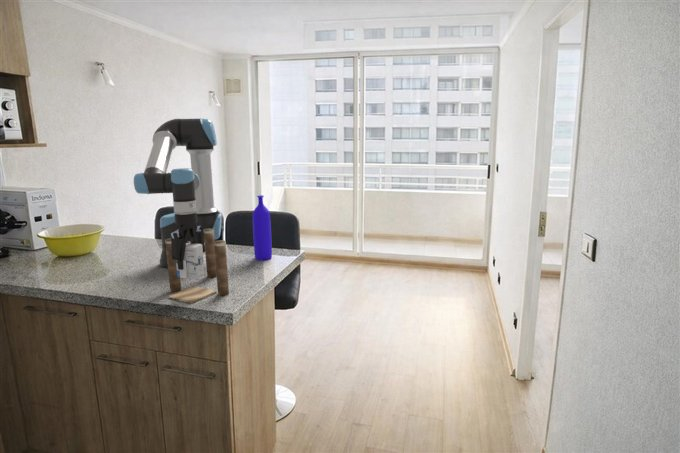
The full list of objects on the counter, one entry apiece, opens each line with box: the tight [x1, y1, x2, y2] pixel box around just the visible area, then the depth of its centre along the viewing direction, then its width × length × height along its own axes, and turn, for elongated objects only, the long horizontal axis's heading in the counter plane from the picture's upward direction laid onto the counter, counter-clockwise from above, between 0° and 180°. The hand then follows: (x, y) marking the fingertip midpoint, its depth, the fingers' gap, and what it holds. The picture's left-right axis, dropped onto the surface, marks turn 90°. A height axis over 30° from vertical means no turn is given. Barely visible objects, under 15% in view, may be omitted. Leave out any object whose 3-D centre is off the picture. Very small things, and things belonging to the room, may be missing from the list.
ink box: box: [176, 242, 205, 280], centre depth 160 cm, size 9×5×12 cm, turn 77°
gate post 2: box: [203, 228, 217, 279], centre depth 183 cm, size 4×4×20 cm
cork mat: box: [167, 285, 217, 304], centre depth 163 cm, size 12×12×1 cm
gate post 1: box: [165, 238, 182, 293], centre depth 167 cm, size 4×4×20 cm
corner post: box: [214, 239, 230, 297], centre depth 162 cm, size 4×4×20 cm
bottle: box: [252, 194, 273, 261], centre depth 208 cm, size 8×8×30 cm
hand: (190, 275), depth 161 cm, fingers closed on ink box, 6 cm apart
